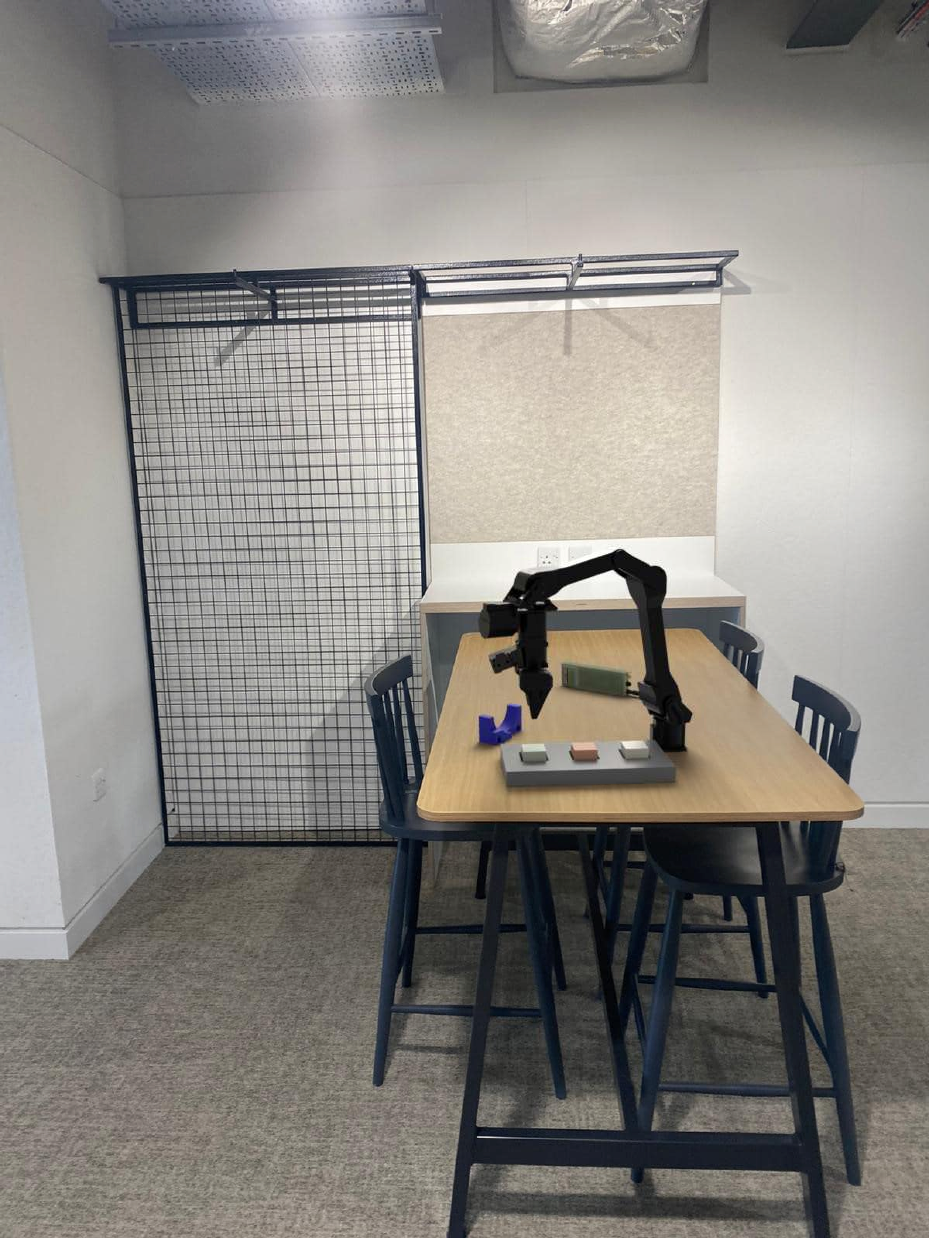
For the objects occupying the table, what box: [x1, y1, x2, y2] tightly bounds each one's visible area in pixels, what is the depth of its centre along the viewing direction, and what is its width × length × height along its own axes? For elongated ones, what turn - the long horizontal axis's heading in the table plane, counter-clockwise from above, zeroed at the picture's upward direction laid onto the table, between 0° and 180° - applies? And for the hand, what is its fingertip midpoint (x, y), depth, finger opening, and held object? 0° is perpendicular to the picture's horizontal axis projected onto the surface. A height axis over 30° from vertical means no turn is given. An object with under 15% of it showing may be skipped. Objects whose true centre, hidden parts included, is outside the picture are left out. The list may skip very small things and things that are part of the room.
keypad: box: [499, 739, 677, 788], centre depth 170 cm, size 32×16×3 cm, turn 92°
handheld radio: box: [560, 660, 639, 697], centre depth 227 cm, size 7×3×25 cm
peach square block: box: [571, 741, 598, 760], centre depth 170 cm, size 4×4×2 cm
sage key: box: [520, 743, 546, 762], centre depth 170 cm, size 4×4×2 cm
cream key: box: [621, 740, 649, 759], centre depth 170 cm, size 4×4×2 cm
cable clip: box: [478, 702, 523, 746], centre depth 192 cm, size 12×4×6 cm, turn 141°
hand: (532, 712), depth 170 cm, fingers open, 9 cm apart
